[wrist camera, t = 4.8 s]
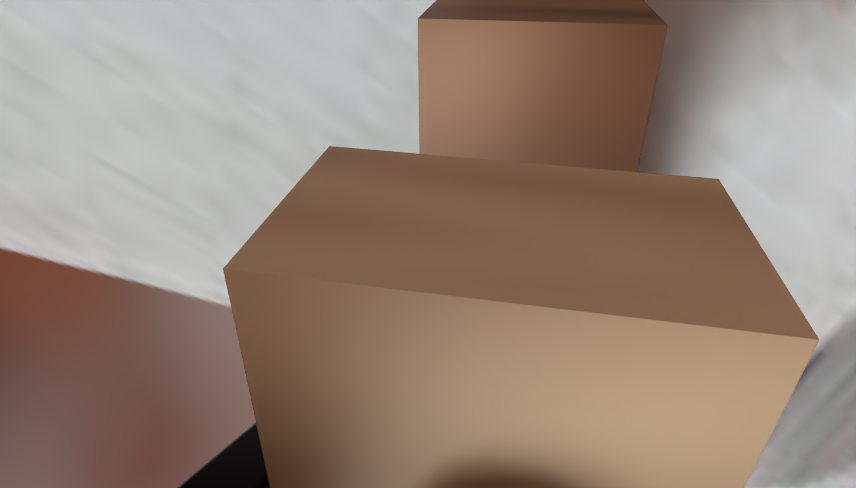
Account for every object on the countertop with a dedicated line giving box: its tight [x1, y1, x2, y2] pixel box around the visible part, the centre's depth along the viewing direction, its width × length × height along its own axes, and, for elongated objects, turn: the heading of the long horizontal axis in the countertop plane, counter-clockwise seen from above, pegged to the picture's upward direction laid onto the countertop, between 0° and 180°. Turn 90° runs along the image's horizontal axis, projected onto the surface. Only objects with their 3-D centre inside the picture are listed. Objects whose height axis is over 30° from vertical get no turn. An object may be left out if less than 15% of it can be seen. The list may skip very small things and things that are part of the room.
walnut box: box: [418, 0, 667, 172], centre depth 16 cm, size 9×5×4 cm, turn 0°
